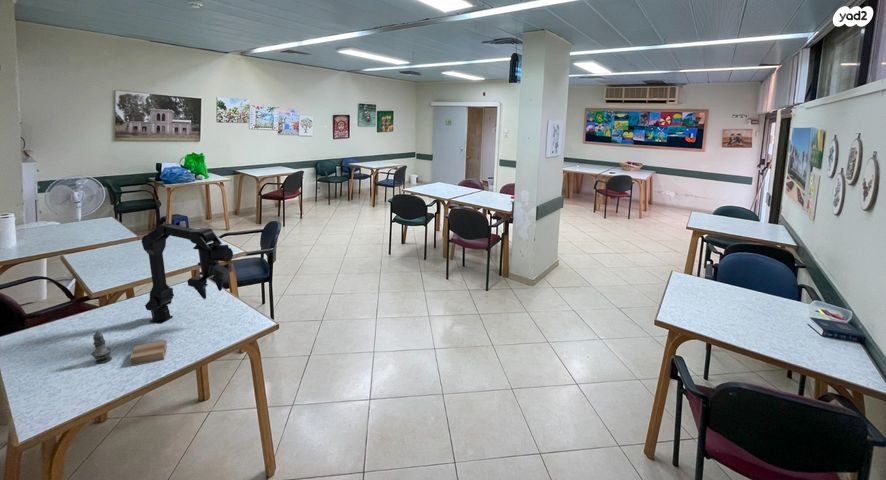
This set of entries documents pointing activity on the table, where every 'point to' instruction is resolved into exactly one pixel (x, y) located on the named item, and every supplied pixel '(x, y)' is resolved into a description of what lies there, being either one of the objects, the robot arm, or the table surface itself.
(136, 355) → the walnut pedestal
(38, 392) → the table surface
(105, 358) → the grey chess bishop
